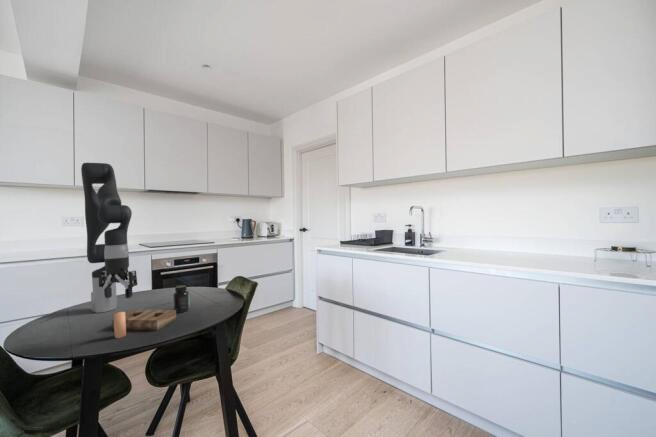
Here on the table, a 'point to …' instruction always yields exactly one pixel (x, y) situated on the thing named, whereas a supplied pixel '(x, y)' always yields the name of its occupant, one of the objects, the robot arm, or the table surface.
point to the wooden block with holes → (148, 319)
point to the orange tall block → (119, 324)
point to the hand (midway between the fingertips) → (118, 297)
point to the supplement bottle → (181, 299)
